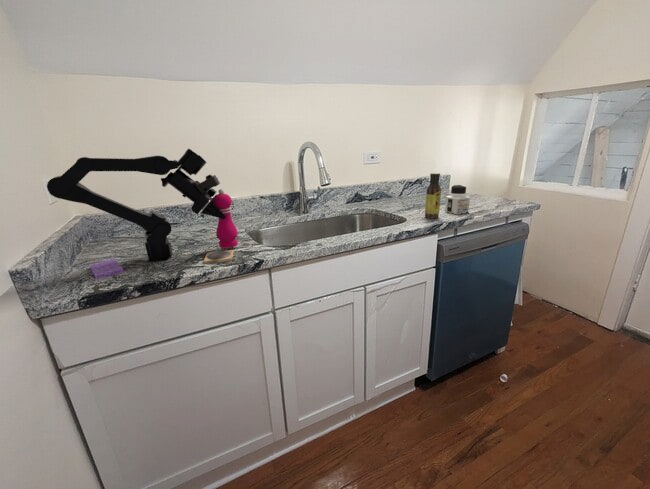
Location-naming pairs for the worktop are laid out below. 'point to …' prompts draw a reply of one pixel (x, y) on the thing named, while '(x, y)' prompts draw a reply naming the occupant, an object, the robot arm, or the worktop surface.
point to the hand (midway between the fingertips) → (225, 216)
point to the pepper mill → (225, 221)
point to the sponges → (106, 268)
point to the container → (457, 200)
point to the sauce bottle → (433, 197)
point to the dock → (218, 256)
